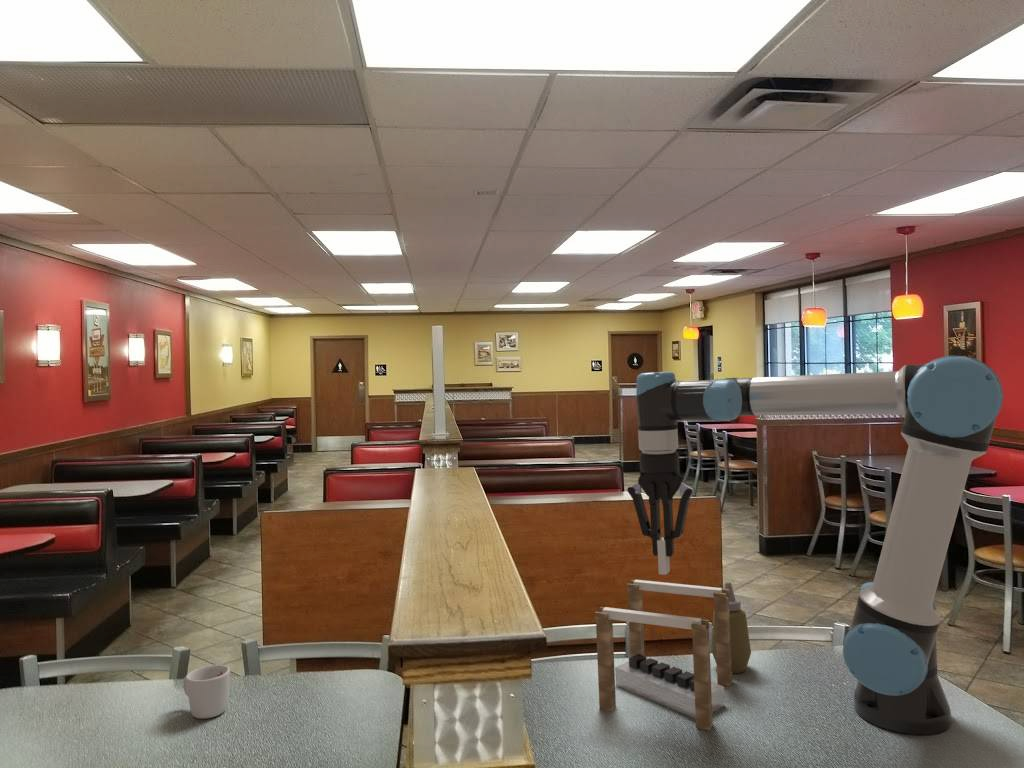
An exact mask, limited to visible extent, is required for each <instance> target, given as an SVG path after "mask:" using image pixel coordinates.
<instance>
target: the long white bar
mask: <svg viewBox="0 0 1024 768" xmlns="http://www.w3.org/2000/svg"><path fill="white" fill-rule="evenodd" d="M602 612H603V613H608V619H612V621H613V620H614V621H622V622H628V623H629V622H636V623H643V625H644V624H646V625H653V626H661V627H667V628H676V629H683V630H684V629H685V630H691V624H700V625H701V619H702V618H701V617H699V618H698V617H691V616H682V615H674V614H666V613H657V612H650V611H649V612H648V611H643V612H642V611H634V610H628V609H623V608H617V607H616V608H615V607H607V606H605V608H604V609H603V610H602Z"/></svg>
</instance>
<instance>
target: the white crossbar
mask: <svg viewBox="0 0 1024 768" xmlns="http://www.w3.org/2000/svg"><path fill="white" fill-rule="evenodd" d="M634 580H635V581H633V584H638V586H639V590H642V591H645V592H655V593H656V592H657V593H665V594H666V593H667V594H675V595H684V596H695V597H704V598H712V599H714V595H713V593H714V592H717V593H722V589H723V588H722V587H714V586H713V587H712V586H704V585H694V584H692V585H691V584H684V583H683V584H682V583H673V582H666V581H665V582H662V581H654V580H644V579H634Z"/></svg>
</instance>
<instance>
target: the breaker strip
mask: <svg viewBox="0 0 1024 768" xmlns="http://www.w3.org/2000/svg"><path fill="white" fill-rule="evenodd" d="M614 671H615V686H617V687H618V688H619V687H620V688H622V689H625V690H626V691H629V692H632V693H633V694H636V695H638V696H640V697H643V698H645V699H648V700H650V701H652V702H654V703H656V704H659V705H662V706H665V707H667V708H669V709H671V710H674V711H676V712H679V713H681V714H684V715H686V716H687V717H691V718H692V719H695V720H696V715H695V689H694V673H692V672H689V671H683V669H681V668H678V667H676V666H673V667H672V666H671V665H670V664H668V663H665V662H659V661H658V660H656V659H653V658H651V657H649V658H648V657H647V656H646V655H645V656H643V655H640V654H637V655H635V656H632V657H628V661H627V662H624V663H622V664H620V665H617V666H614ZM711 694H712V713H714V712H716V711H718V710H719V709H721V708H723V707H725V685H721V684H717V682H716V683H715V682H713V681H711Z"/></svg>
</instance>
